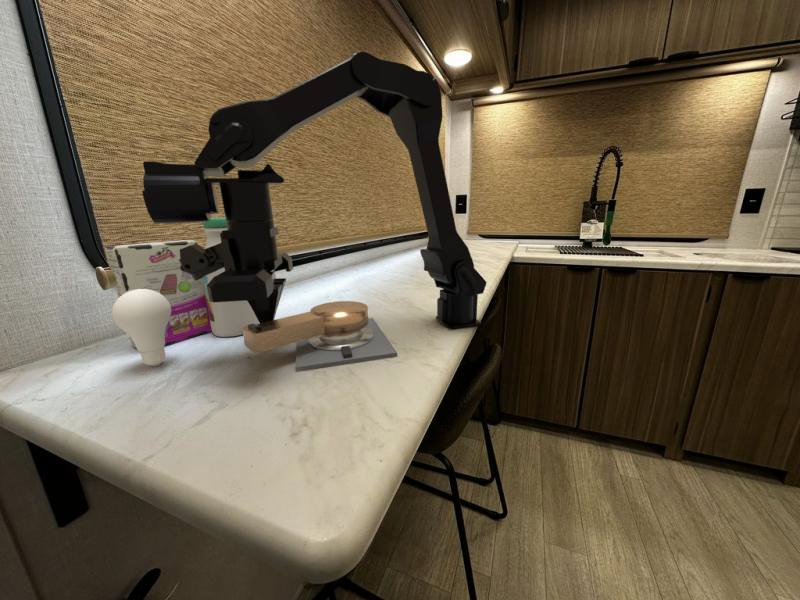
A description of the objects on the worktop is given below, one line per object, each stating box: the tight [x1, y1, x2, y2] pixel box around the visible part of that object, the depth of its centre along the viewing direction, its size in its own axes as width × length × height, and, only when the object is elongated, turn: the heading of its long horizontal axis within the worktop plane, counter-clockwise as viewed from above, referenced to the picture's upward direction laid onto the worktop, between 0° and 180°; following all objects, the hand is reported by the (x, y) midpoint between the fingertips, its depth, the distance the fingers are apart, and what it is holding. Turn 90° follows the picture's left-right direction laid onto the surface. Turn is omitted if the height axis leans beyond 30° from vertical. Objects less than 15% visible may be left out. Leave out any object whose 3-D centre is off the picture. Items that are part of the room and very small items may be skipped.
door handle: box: [242, 300, 369, 355], centre depth 47 cm, size 18×9×3 cm, turn 133°
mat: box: [295, 317, 398, 372], centre depth 51 cm, size 14×17×1 cm
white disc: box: [308, 327, 373, 351], centre depth 51 cm, size 10×10×2 cm
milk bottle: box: [202, 217, 259, 338], centre depth 55 cm, size 8×8×20 cm
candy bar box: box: [104, 239, 212, 348], centre depth 52 cm, size 11×5×16 cm, turn 148°
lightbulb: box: [111, 289, 171, 367], centre depth 43 cm, size 6×6×11 cm
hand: (267, 330), depth 46 cm, fingers closed
